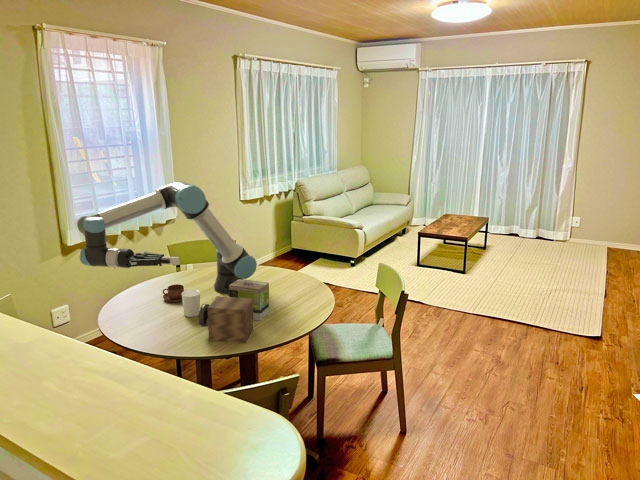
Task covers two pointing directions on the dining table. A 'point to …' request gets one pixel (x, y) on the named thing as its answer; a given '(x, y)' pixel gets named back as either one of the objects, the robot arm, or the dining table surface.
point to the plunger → (203, 315)
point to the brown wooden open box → (230, 319)
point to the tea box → (252, 295)
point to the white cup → (191, 302)
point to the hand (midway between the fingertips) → (178, 260)
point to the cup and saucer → (174, 293)
